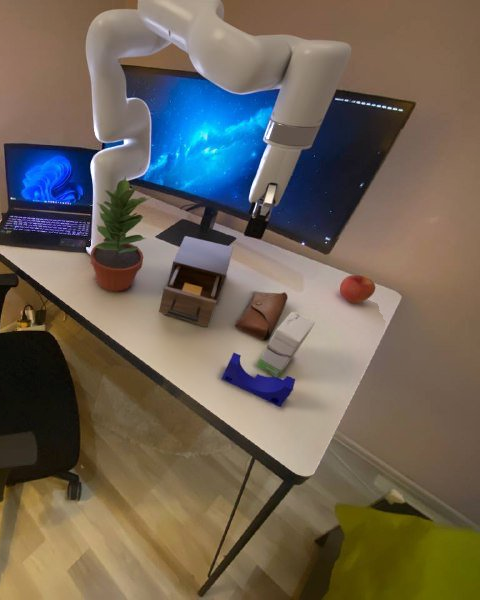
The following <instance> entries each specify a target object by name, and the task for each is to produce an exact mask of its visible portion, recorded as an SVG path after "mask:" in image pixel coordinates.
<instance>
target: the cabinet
mask: <svg viewBox="0 0 480 600" xmlns="http://www.w3.org/2000/svg"><path fill="white" fill-rule="evenodd" d="M233 250H234V246H229V245H225V244H221V243H216V242H213V241H208V240H204V239H200V238H196V237H191V236H187V235H184V237H183V239H182V242H181V244H180V246H179V248H178V250H177V252H176V255H175V257H174V258H173V260H172V264H171V269H170V273H169V277H168V282H167V285H166V286H167V287H169V283H170V281H171V279H172V277H173V274H174V272H175V270H176V268H177V265H179V266H183V267H186V268H190V269H194V270H198V271H202V272H206V273H209V274H213V275H217V276H220V278H219V282H218V286H217V289H216V293H215V297H214V300H216V301H218V299H219V297H220V293H221V291H222V289H223V286H224V283H225V280H226V278H227V274H228V269H229V267H230V261H231V258H232V254H233Z"/></svg>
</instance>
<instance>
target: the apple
mask: <svg viewBox="0 0 480 600" xmlns="http://www.w3.org/2000/svg"><path fill="white" fill-rule="evenodd" d="M339 285H340V286H339V293H340V296H341V297H342V298H343V299H345V301H348V302H349V303H351V304H354V303H355V304H356V303H362V302H364V301H366V300H368V299H370V298H371V297H372V296H373V294H374V293H375V291H376V284H375V282H374V281H373V280H371V278H368V277H366V276H363V275H360V274H351V275H348V276H346V277H345V278H344V279H342V281H341V283H340V284H339Z"/></svg>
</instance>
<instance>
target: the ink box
mask: <svg viewBox="0 0 480 600" xmlns="http://www.w3.org/2000/svg"><path fill="white" fill-rule="evenodd" d="M315 324H316V322H315V321H313V320H310V319H309V318H307V317H305V316H303V315H301V314H299V313H297V312H296V311H291V312H290V313H289V314H288V315H287V316H286V318H285V319H284V320H283V321H282V322H281V323H280V325H278V327H277V328H276V329H275V331H274V332H273V334H272V335H271V337H270V339H269V341H268V344H267V345H266V347H265V349H264V351H263V353H262V355H261V356H260V358H259V360H258V362H257V364H256V366H257V368H260V369H261V370H263V371H264V372H266V373H268V374H270V375H271V376H272V377H278V378H279V376H280V375H281V373H282V372H283V371H284V370H285V368H286V367H287V365H288V364H289V362H290V361H291V360H292V358H293V357H294V356H295V355H296V353H297V351H298V350H299V349H300V347H301V345H302V344H303V343H304V341H305V340H306V338H307V336H308V335H309V333H311V330H312V329H313V327H314V326H315Z"/></svg>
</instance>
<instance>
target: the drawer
mask: <svg viewBox="0 0 480 600" xmlns="http://www.w3.org/2000/svg"><path fill="white" fill-rule="evenodd" d="M219 278H220V276H217V275H213V274H209V273H206V272H202V271H198V270H194V269H190V268H186V267H183V266H179V265H177V268H176V270H175V272H174V274H173V277H172V279H171V281H170V283H169V287H167V286H168V285H165V286H164V288H163V291H162V296H161V300H160V305H159V309H158V313H161V314H165V315H168V316H171V317H174V318H176V319H177V318H178V319H181V320H184V321H187V322H190V323H194V324H197V325H200V326H203V327H209V324H210V321H211V318H212V315H213V313H214V310H215V307H216V305H217V303H218V302H217V301H218V300H217V301H216V300H214V297H215V293H216V289H217V286H218V282H219ZM185 283H189V284H192V285H196V286H199V287H202V291H201V294H200V296H199V295H195V294H192V293H188V292H185V291H182V289H183V286H184V284H185Z"/></svg>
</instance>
